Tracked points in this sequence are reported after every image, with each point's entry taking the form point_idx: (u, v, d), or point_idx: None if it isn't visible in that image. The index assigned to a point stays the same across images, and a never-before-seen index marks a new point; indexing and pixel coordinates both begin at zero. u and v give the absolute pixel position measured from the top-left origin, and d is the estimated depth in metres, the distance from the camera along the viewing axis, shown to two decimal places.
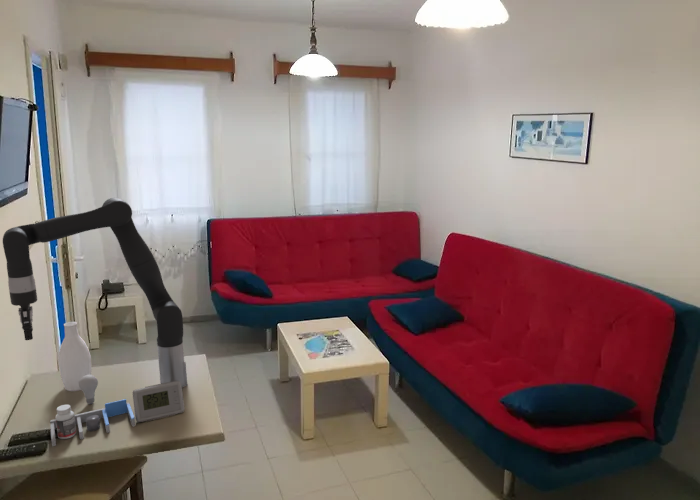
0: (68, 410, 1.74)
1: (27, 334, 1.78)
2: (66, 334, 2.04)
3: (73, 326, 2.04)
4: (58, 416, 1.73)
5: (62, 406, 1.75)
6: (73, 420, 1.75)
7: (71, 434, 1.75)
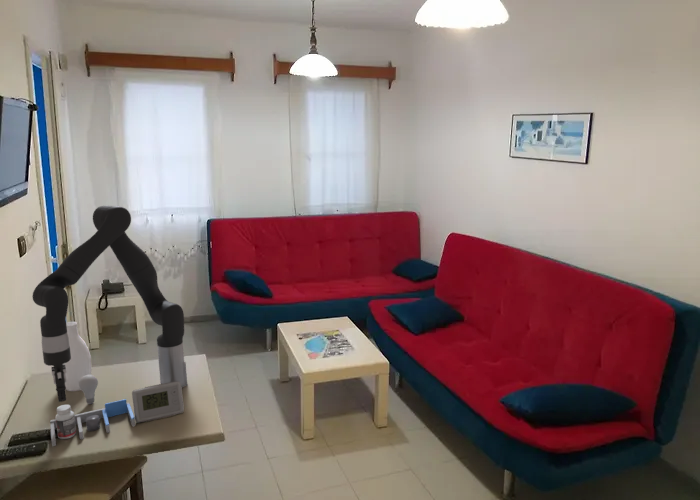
0: (68, 410, 1.74)
1: (61, 396, 1.68)
2: None
3: (73, 326, 2.04)
4: (58, 416, 1.73)
5: (62, 406, 1.75)
6: (73, 420, 1.75)
7: (71, 434, 1.75)
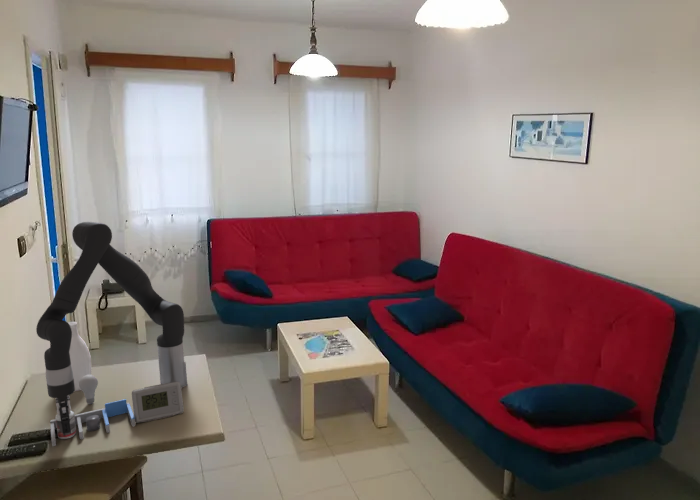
0: None
1: (65, 428, 1.72)
2: None
3: (73, 326, 2.04)
4: (58, 416, 1.73)
5: None
6: (73, 420, 1.75)
7: (71, 434, 1.75)
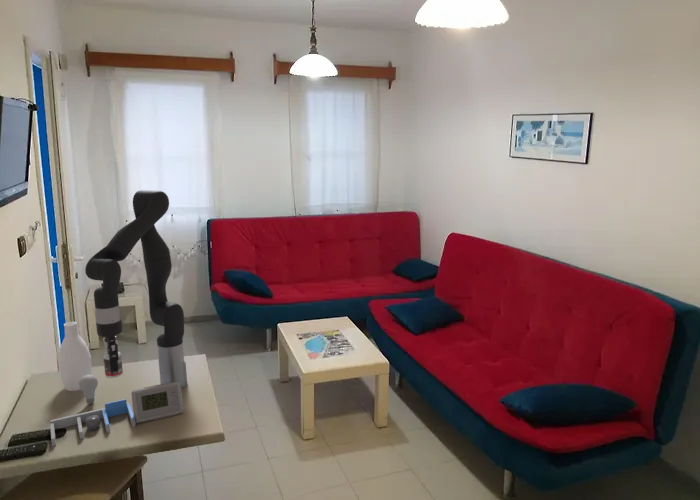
0: None
1: (113, 366, 1.76)
2: (66, 334, 2.04)
3: (73, 326, 2.04)
4: (106, 355, 1.77)
5: None
6: (120, 360, 1.79)
7: (118, 373, 1.79)
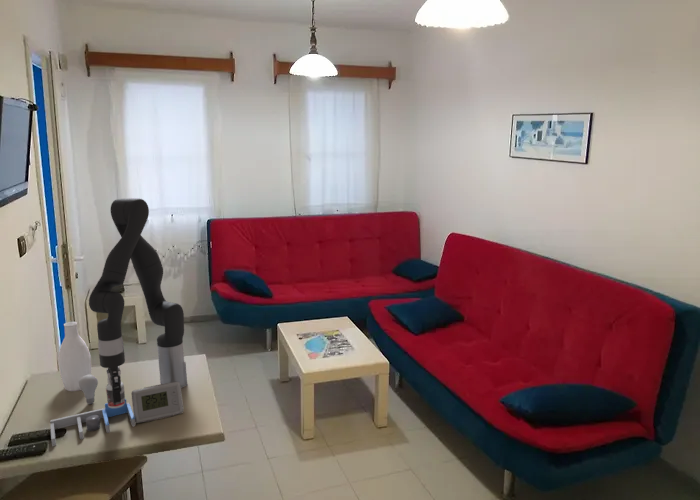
0: None
1: (116, 397, 1.78)
2: (66, 334, 2.04)
3: (73, 326, 2.04)
4: (109, 386, 1.79)
5: None
6: (123, 390, 1.81)
7: (121, 404, 1.81)
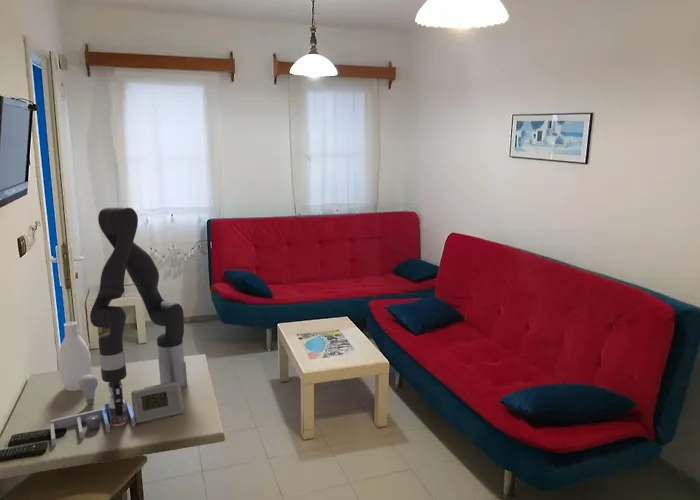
0: None
1: (118, 410, 1.78)
2: (66, 334, 2.04)
3: (73, 326, 2.04)
4: (111, 404, 1.81)
5: None
6: (125, 408, 1.83)
7: (123, 421, 1.82)
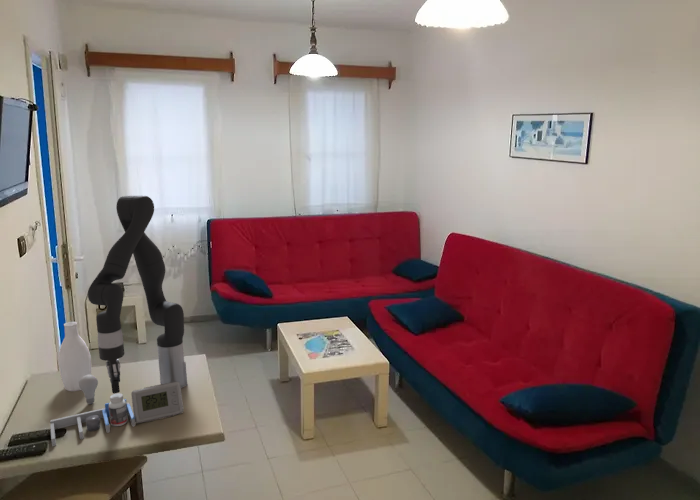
0: (121, 398, 1.81)
1: (115, 388, 1.80)
2: (66, 334, 2.04)
3: (73, 326, 2.04)
4: (111, 404, 1.80)
5: (115, 395, 1.82)
6: (125, 408, 1.83)
7: (123, 421, 1.82)
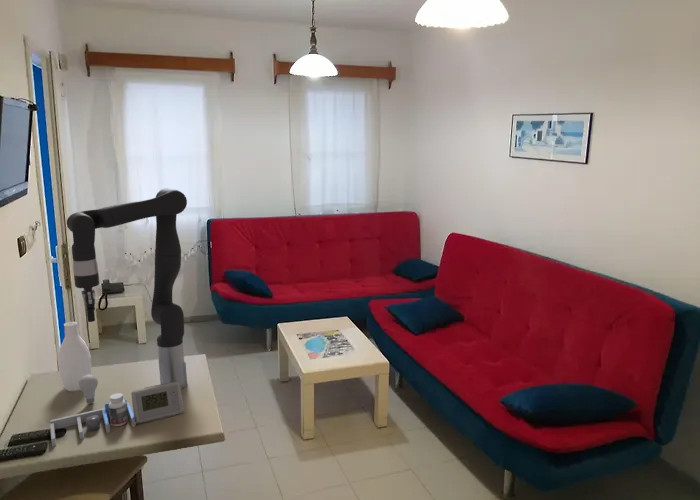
0: (121, 398, 1.81)
1: (90, 316, 1.86)
2: (66, 334, 2.04)
3: (73, 326, 2.04)
4: (111, 404, 1.80)
5: (115, 395, 1.82)
6: (125, 408, 1.83)
7: (123, 421, 1.82)
